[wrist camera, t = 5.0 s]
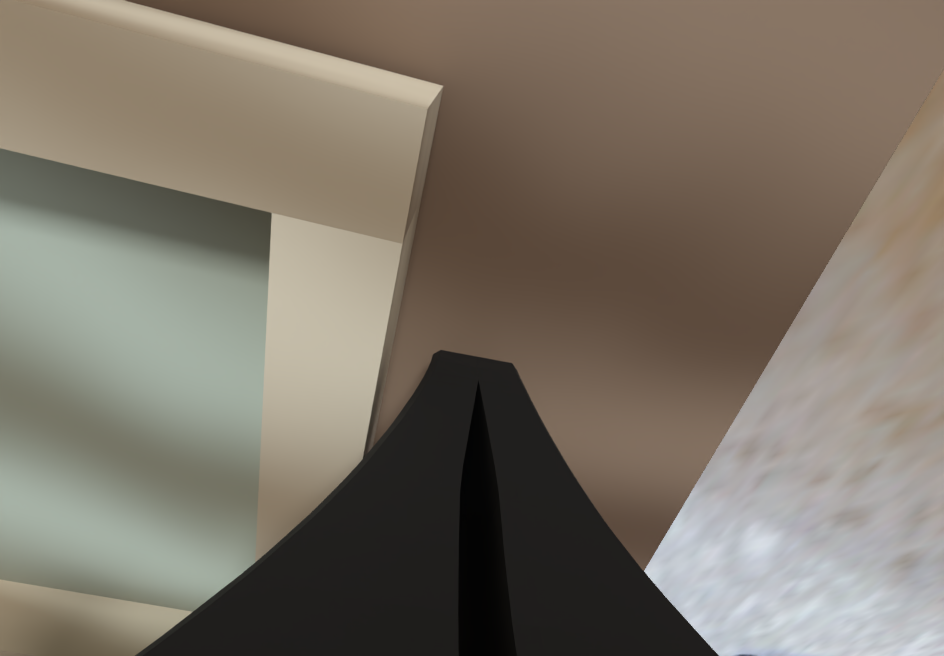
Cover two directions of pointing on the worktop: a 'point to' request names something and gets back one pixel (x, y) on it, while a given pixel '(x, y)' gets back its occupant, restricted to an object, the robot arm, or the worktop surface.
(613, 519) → the walnut board
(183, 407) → the picture frame
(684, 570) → the worktop surface
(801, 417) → the worktop surface
